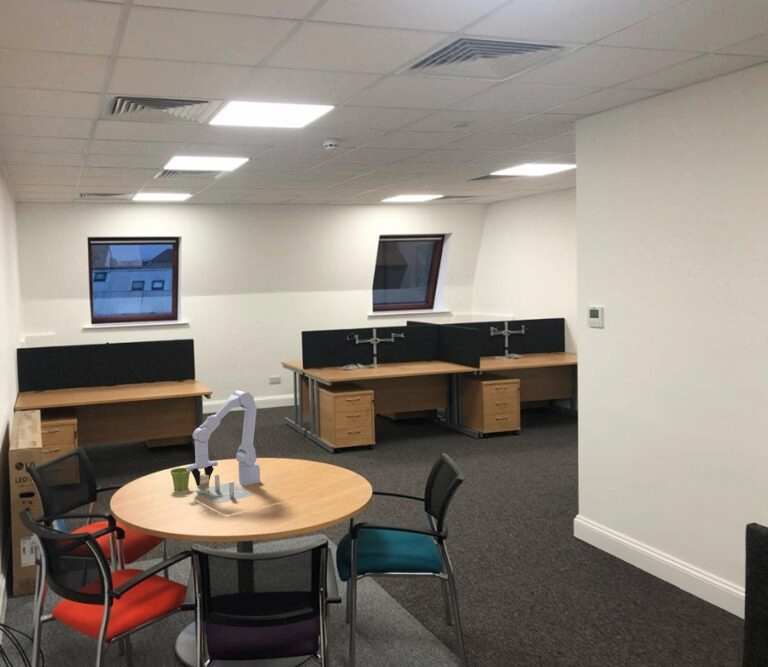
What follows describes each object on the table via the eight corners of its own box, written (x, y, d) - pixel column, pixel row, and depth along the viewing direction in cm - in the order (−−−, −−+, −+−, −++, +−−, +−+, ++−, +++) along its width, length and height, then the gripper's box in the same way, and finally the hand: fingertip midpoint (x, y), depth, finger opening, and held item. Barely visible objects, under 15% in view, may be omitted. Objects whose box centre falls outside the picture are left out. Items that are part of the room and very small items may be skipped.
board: (228, 484, 342) (228, 468, 342) (255, 496, 324) (255, 479, 323) (193, 491, 331) (192, 475, 330) (218, 504, 312) (218, 487, 311)
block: (209, 488, 329) (208, 475, 329) (201, 490, 327) (200, 477, 326) (205, 486, 332) (204, 473, 332) (197, 488, 330) (196, 475, 329)
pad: (205, 488, 334) (205, 487, 334) (211, 491, 330) (211, 490, 330) (193, 490, 330) (193, 489, 330) (199, 493, 326) (199, 492, 326)
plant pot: (175, 493, 329) (175, 474, 329) (167, 488, 337) (166, 470, 336) (195, 489, 335) (194, 470, 335) (186, 484, 343) (185, 466, 342)
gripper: (212, 450, 336) (213, 479, 337) (182, 455, 327) (183, 485, 328) (219, 453, 331) (220, 482, 332) (189, 458, 322) (190, 488, 323)
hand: (202, 484), depth 330 cm, fingers closed on block, 4 cm apart
